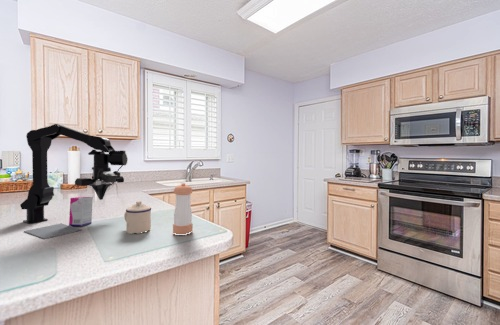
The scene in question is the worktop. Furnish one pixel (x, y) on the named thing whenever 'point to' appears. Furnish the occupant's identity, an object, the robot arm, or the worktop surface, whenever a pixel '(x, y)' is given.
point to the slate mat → (52, 231)
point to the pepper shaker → (182, 210)
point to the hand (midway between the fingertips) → (100, 199)
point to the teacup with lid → (138, 218)
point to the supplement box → (80, 211)
